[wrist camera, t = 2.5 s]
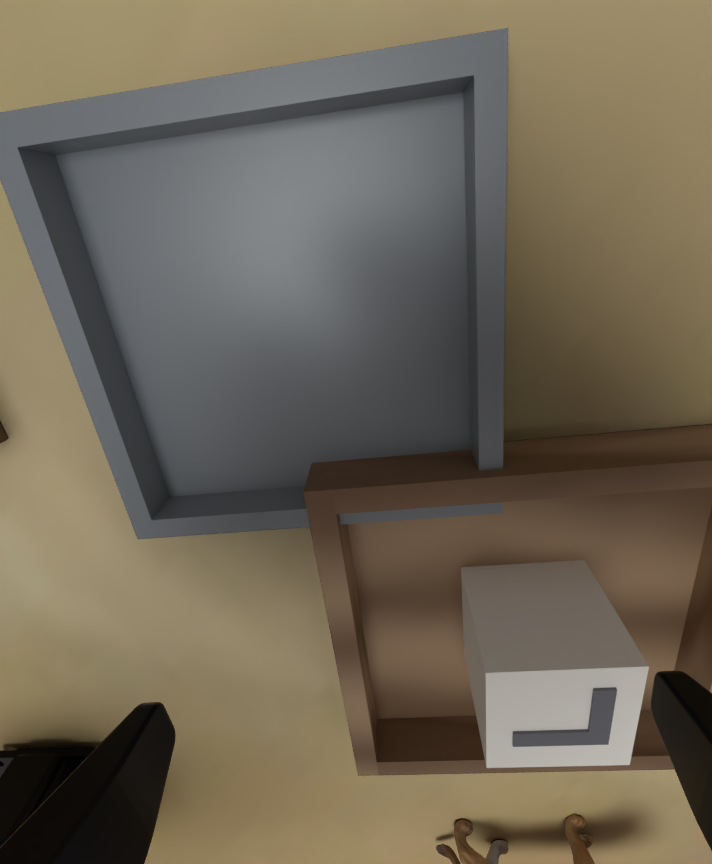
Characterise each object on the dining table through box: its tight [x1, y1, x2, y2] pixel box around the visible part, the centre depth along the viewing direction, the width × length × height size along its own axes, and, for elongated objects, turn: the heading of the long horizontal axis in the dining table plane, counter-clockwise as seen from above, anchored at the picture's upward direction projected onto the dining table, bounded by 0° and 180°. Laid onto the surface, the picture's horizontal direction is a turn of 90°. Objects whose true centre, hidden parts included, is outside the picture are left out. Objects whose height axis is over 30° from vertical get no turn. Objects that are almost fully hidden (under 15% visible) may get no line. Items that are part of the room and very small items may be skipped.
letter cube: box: [461, 560, 649, 768], centre depth 18 cm, size 5×5×5 cm
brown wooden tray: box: [303, 424, 712, 776], centre depth 19 cm, size 16×16×2 cm
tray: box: [0, 28, 508, 539], centre depth 15 cm, size 14×14×2 cm
